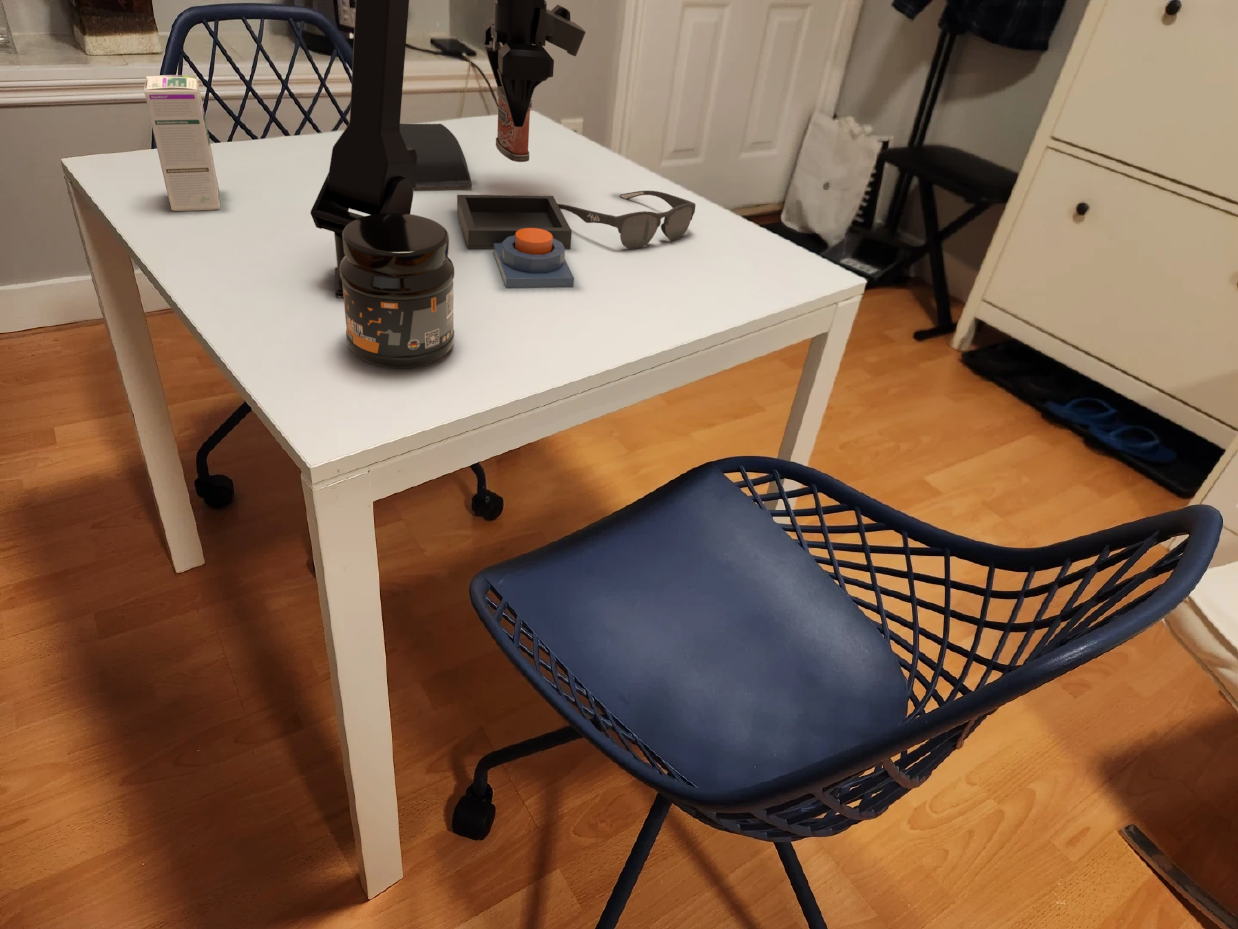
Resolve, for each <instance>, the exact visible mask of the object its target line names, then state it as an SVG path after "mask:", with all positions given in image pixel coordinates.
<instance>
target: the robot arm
mask: <svg viewBox="0 0 1238 929" xmlns="http://www.w3.org/2000/svg"><path fill="white" fill-rule="evenodd" d="M409 6H410V0H355V8H354V9H355V10H354V11H355V12H354V29H353V32H354V33H353V48H352V50H353V51H352V66H351V68H352V69H351V88H350V108H349V120H348V124H347V126H346V127H345V129H344V130H343V132H342V133H341V134H340V136H339V137H338V139H337V140H336V142H335V143H334V144H333V146H332V150H331V155H330V163H329V169H328V173H327V175H326V177H325V179H324V182H323V183H322V186H321V188H320V190H319V192H318V194H317V196H316V199H315V200H314V203H313V206H312V207H311V209H310V216H311V218H312V221H313V223H314V226H315V228H317V229H320V230H322V229H323V230H326V231H330V232H333V234H334V235H333V236H334V244H335V245H334V246H335V255H336V257H335V258H336V266H337V267H335V268H334V292H335V293H334V294H335V296H336V297H344V296H343V285H342V279H341V276H340V263H341V261H342V259H343V258H344V256H345V254H344V248H343V236H342V233H343V230H344V228H345V227H346V226H347V225H348V224H349V223H350V222H352V221H354V220H356V219H358V218H361V217H364V216H365V215H362V214H359V213H363V214H367V215H374V214H382V213H402V214H411V212H412V206H413V200H414V190H416V189H417V187H416V184H415V170H416V164H417V154H416V151H415V149H412V148H408V147H406V145H405V143H404V140H403V138H402V136H401V133H400V124H401V113H402V102H403V101H402V99H403V87H404V75H405V60H406V49H407V48H406V46H407V34H408V22H409V21H408V20H409V9H410V8H409ZM586 33H587V32H586V30H585V29H584V28H582V27H581V26H580V25H579V24H577V23H576V22H574V21H572V20H571V11H570V10H569V9H567V8H566V7H564V6H562V5H561V4H556V5H555V6H554V7H553V8H552V9H549V8H548V6H547V1H546V0H493V18H488V19H487V20H486V21H485V22H484V23H483V24H482V25H481V41H482V43H483V45H484V51H485V53H486V57H487V61H488V63H489V67H490V68H491V72H492V75H493V78H494V80H495V84H496V86H497V87H499V86H502V87H503V90H504V93H505V97H506V100H507V104H508V107H509V110H510V114H511V117H512V120H513V123H514V126H515V127H522V126H523V125H524V121H525V118H526V114H527V111H528V108H529V104H530V101H531V100H532V97H533V94H534V91H535V89H536V88H537V86H539V85H540V84H541V83H543V82H546V81H547V80H548V79H549V78H553V77H554V68H555V60H554V58H553V57H552V56H551V55H550V53H549V52H548V51H547V50H546V49H545V47H546V42H547V43H549V44H551V45H553V46H555V47H557V48H560V49H562V50H564V51H565V52H566V53H567V54H568V55H570V56H573V57H577V55H578V53H579V51H580V47H581V46H582V43H583V40H584V38H585V35H586ZM497 87H496V88H497ZM349 210H353V211H356V212H359V213H355V212H352V211H349Z"/></svg>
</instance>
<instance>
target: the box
mask: <svg viewBox="0 0 1238 929" xmlns="http://www.w3.org/2000/svg"><path fill="white" fill-rule="evenodd" d="M492 251H493V255H494V257H495V261H496V264H497V267H498V270H499V272H500V275H501V278H502V280H503V283H504V286H505V288H506V289H524V288H527V289H528V288H530V289H531V288H532V289H534V288H574V284H575V277H574V275H573V273H572V271H571V269H570V267H569V265H568V263H567V261H566V258H565V256H566V249H565V248H564V246H563V244H562V242H560V241H558V240H556V239H554V238H553V241H552V252H550V253H547V254H543V255H531V254H526V253H522V252H520V251H518V250H516V249H515V235H514V236H510V237H507V238H506V239H505V240H504V241H503V242H502V243H494V248H493V249H492Z"/></svg>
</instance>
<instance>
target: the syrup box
mask: <svg viewBox="0 0 1238 929" xmlns="http://www.w3.org/2000/svg"><path fill="white" fill-rule="evenodd" d="M143 92H144V96H145V101H146V106H147V109H148V114H149V118H150V123H151V127H152V131H153V132H152V133H153V136H154V141H155V145H156V151H157V154H158V159H159V163H160V167H161V171H162V176H163V180H164V185H165V189H166V192H167V198H168V202H169V206H170V209H171V211H176V212H177V211H180V212H181V211H183V212H186V211H187V212H188V211H211V210H212V211H213V210H220V209H221V194H220V187H219V182H218V177H217V173H216V166H215V161H214V155H213V150H212V144H211V139H210V135H209V129H208V124H207V119H206V115H205V114H206V113H205V110H204V105H203V100H202V95H201V88H200V84H199V78H198V77H196V76H192V75H181V74H163V75H151V76H150V75H147V76H146V77H145V82H144V89H143Z"/></svg>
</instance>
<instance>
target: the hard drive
mask: <svg viewBox="0 0 1238 929" xmlns="http://www.w3.org/2000/svg"><path fill="white" fill-rule="evenodd" d="M400 133H401V136H402V138H403V140H404V143H405V145H406V147H408V148H412V149H415V151H416V154H417V164H416V170H415V184H416V188H451V187H452V188H454V187H457V188H458V187H462V188H463V187H468V188H469V187H472V186H473V183H472V179H471V178H472V177H471V174H470V170H469V167H468V162H467V160H466V156H465V154H464V151H463V149H462V147H461V144H460V142H459V140H458V139H457V137H456V136H455V135H454V133H453V132H452V131H451V130H450V129H449V128H447V127H446V125H443V123H400Z"/></svg>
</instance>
